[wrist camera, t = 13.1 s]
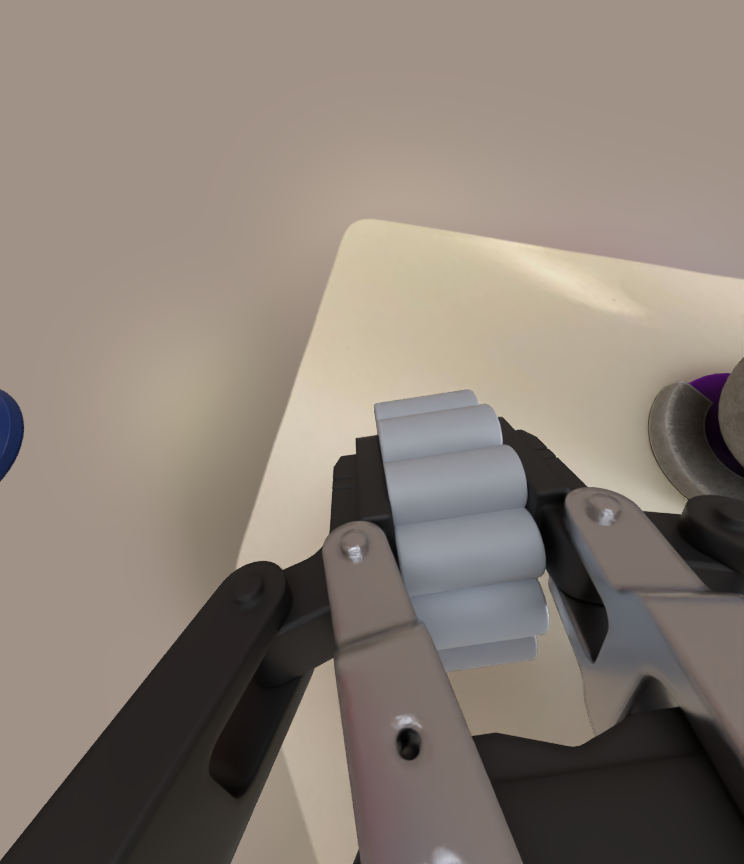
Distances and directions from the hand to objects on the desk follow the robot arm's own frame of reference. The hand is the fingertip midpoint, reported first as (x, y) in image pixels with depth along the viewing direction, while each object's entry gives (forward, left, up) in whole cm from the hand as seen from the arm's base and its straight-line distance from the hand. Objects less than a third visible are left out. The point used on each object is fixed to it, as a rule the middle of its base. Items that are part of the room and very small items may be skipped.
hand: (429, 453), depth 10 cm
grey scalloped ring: (-1, -2, -5) cm, 5 cm away
